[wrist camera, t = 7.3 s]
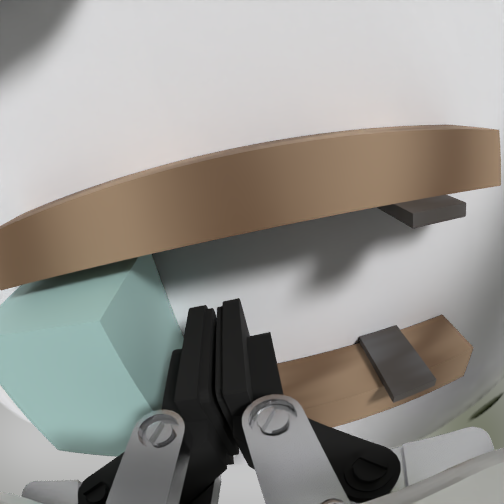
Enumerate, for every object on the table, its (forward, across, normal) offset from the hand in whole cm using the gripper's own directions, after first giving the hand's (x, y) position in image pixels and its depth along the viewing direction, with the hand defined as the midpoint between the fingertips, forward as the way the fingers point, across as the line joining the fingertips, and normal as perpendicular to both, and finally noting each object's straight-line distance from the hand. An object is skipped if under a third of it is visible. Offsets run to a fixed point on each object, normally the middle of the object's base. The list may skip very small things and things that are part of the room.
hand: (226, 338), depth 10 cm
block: (+2, +5, 0) cm, 6 cm away
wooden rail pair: (+2, -2, 0) cm, 3 cm away
